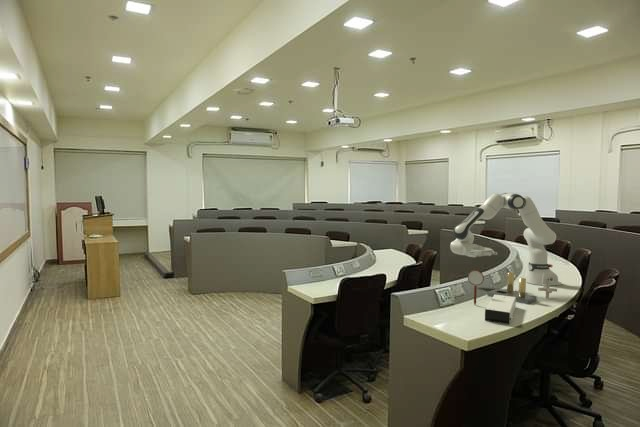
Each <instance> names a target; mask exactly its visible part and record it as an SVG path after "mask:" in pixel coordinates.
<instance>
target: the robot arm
mask: <svg viewBox="0 0 640 427" xmlns="http://www.w3.org/2000/svg"><path fill="white" fill-rule="evenodd" d="M502 208H503V209H507V210H514V211H515V210H518V213H519V215H520V217H521V219H522V221H523V224H524V225H525V226H526V227H527V228H525V229H524V230H523V234H522V235H523V237H524V240H526V243H527V245H528V249H529V250H528V251H529V262H528V273H527V278H526V284H531V285H537V286H538V285H539V286H543V287H544V286H545V287H546V281H549V282H550V285H549V287H550V286H559V285H562V284H563V283H562V282H561V281H559V276H558V275H557V273H555V272H554V271H553V270H551V269H550V268H553V264H551V263H548V257H549V256H548V251H547V249H546V248H545V245H553V244H554V243H555V241H556V240H557V234H556V233H555V231H553V230H552V229H551V228H550V227H549V226H548V225H547V224H546V222H545V221H544V220H543V219H542V217H541V214H540V212H539V211H538V208H537V207H536V204H535V203H534V201H533V200H532V198H531V197H529V196H528V195H524V196H522V195H520V194H518V193H513V192H510V193H509V192H504V193H497V192H496V193H493V194H491V195H490V196H488V197H487V199H486V200H485V201H483V203H482V204H481V205H480V206H479V207H476V209H474V210H473V211H472V212H470V214H469V215H468V216H467V217H466V218H465V219H464V220H463V221H462V222H460V223H458V224H457V225H455V226H454V227H453V230H452V234H453V236H454V237H455V238H456V239H455V240H453V241H451V242H450V245H449V248H450V251H451V252H452V253H453V254H455V255H459V256H466V257H469V258H470V257H471V258H477V257H485V256H486V257H487V256H488V257H491V256H492V255H493V256H494V255H495V256H497V255H498V251H494V249H492V248H490V247H485V246H482V245H480V244H475V243H474V240H475V236H474V234H473V232H472V231H471V230H470V228H471V227H472V226H474V224H475V223H476V222H478V221H479V220H491V219H493V218H494V217H495V216H496V215H497V214H498V213H499V211H500V210H501V209H502Z"/></svg>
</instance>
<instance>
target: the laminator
mask: <svg viewBox="0 0 640 427" xmlns="http://www.w3.org/2000/svg"><path fill="white" fill-rule="evenodd" d="M516 305H517V302H516V297H511V296H503V295H494V296H493V297H492V298H491V299H490V301H489V303H488V304H487V306H486V308H485V309H484V321H487V320H489V322H494V321H495V323H500V322H501V324H506V323H507V325H510V323H511V322H512V319H514V317H513V315H514V313H515V310H516V307H517V306H516ZM511 318H512V319H511Z"/></svg>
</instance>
